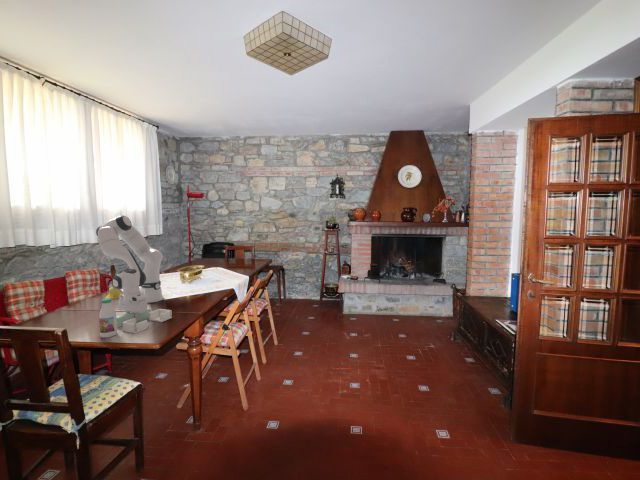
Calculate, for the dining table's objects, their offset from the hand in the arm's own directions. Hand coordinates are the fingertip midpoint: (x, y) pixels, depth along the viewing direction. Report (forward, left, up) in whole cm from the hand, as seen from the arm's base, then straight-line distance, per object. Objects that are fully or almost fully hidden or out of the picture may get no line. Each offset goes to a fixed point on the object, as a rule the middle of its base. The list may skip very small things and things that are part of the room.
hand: (133, 318), depth 194 cm
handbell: (-61, +35, -2) cm, 70 cm away
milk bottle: (+6, -20, -2) cm, 21 cm away
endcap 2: (+12, +9, -2) cm, 15 cm away
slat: (0, 0, -2) cm, 2 cm away
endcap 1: (+12, -9, -2) cm, 15 cm away
